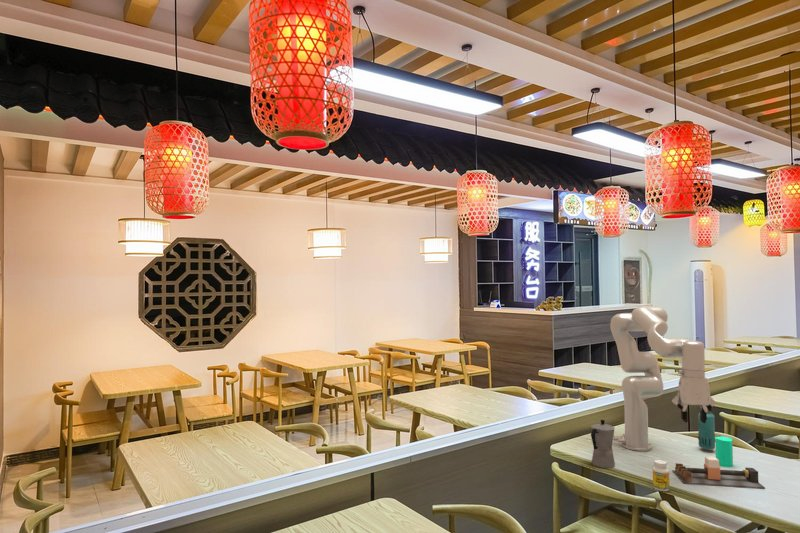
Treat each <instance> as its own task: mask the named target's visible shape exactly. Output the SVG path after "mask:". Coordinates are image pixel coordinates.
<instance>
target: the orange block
mask: <svg viewBox="0 0 800 533" xmlns="http://www.w3.org/2000/svg"><path fill="white" fill-rule="evenodd" d="M703 469H708V474H704V475H705V476H706V477H707V478H708V479H715V480H720V470H721V468H720V466H719V460H718V459H717V458H716V456H704V463H703Z"/></svg>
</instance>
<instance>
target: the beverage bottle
mask: <svg viewBox="0 0 800 533" xmlns="http://www.w3.org/2000/svg"><path fill="white" fill-rule="evenodd" d="M701 410H702V409H701V408H700V411H701ZM711 411H713V407H712V408H711V409H710V410H708V412H707V420H706V423H703V422H701V421H700V412H699V413H698V414H697V416H698V419H697V424H698V426H697V428H698V431H697V432H698V433H697V434H698V437H697V439H698V440H697V441H698V444H697V445H698V447H699V448H701V449H705V450H716V445H715V437H716V431H715V426H716V424H715V414H714V413H712V412H711Z"/></svg>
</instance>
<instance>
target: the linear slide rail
mask: <svg viewBox="0 0 800 533" xmlns="http://www.w3.org/2000/svg"><path fill="white" fill-rule="evenodd" d="M672 473H673V474H674V476H676V477H677V478H678V479H679V481H680V482H681V483H682V484H683V485H694V486H695V485H696V486H698V485H699V486H710V487H712V486H714V487H725V488H727V487H728V488H740V489H741V488H742V489H743V488H744V489H757V490H759V489H760V490H766V487H765V486H764V485H762V483H760V482H759V471H758V470H756V469H755V468H754V467H745V469H742V470H733V469H720V480H715V479H708V478H707V477H706V476H705V475H704V474H708V469H704V468H702V467H701V468H698V467H697V468H696V467H686V466H685V465H684V464H683V463H680V462H679V463H678V462H677V463H675V467H674V469H672Z"/></svg>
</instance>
